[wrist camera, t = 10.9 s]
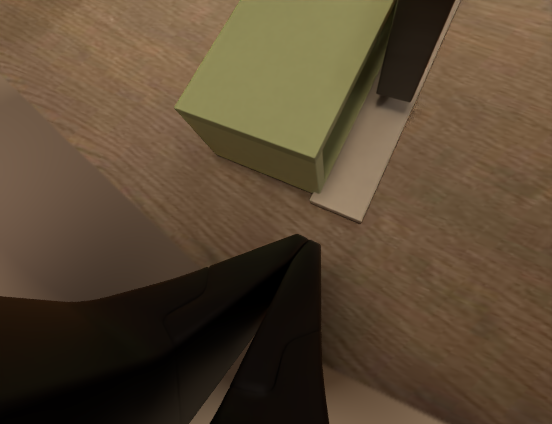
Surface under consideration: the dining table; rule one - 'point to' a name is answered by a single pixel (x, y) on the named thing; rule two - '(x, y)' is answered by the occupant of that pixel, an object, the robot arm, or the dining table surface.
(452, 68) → the dining table surface
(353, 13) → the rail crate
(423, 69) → the sliding door
